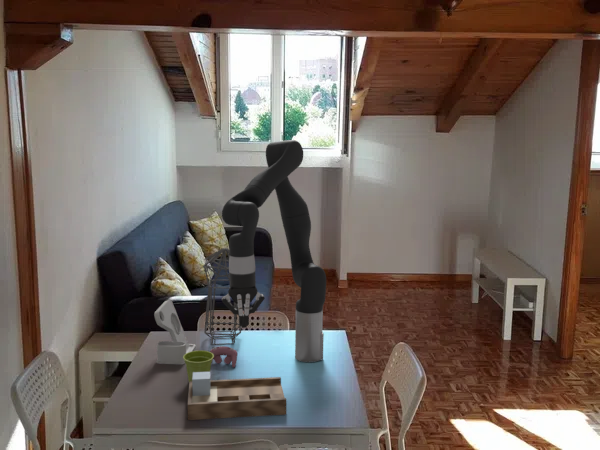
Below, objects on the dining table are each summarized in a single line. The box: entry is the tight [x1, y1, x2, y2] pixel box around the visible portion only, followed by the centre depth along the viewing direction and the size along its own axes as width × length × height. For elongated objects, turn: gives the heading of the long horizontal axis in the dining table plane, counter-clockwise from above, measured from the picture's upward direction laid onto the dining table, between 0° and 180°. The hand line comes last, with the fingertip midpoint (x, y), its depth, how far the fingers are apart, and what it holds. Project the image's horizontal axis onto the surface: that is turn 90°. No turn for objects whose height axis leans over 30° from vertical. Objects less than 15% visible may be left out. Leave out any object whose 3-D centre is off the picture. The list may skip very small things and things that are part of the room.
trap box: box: [187, 376, 287, 421], centre depth 175 cm, size 27×15×4 cm, turn 98°
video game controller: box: [209, 345, 238, 369], centre depth 204 cm, size 10×5×7 cm, turn 85°
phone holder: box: [153, 299, 196, 365], centre depth 210 cm, size 17×10×18 cm, turn 177°
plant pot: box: [183, 350, 214, 383], centre depth 189 cm, size 9×9×9 cm
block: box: [192, 371, 211, 396], centre depth 176 cm, size 5×5×5 cm
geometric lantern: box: [202, 247, 242, 346], centre depth 223 cm, size 16×16×35 cm
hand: (243, 326), depth 180 cm, fingers closed
